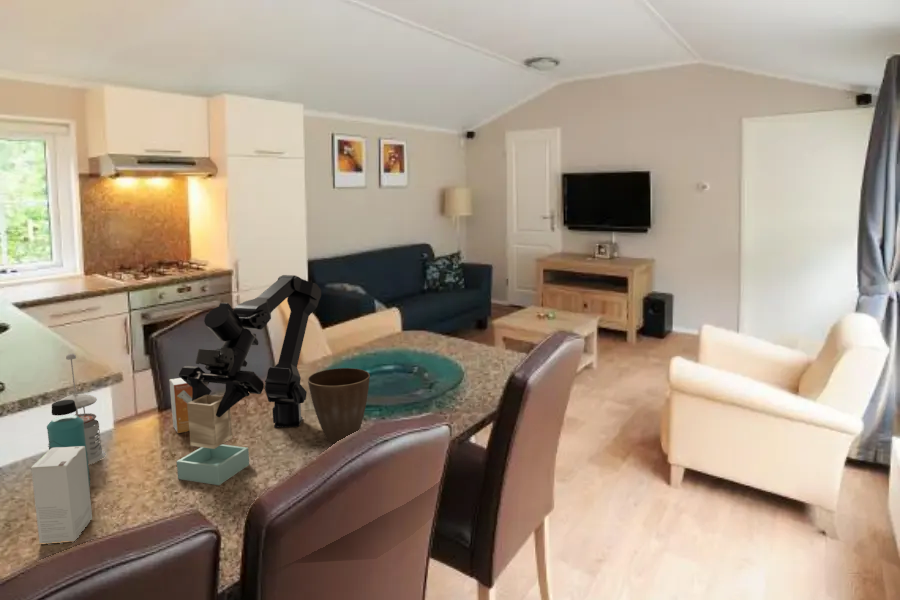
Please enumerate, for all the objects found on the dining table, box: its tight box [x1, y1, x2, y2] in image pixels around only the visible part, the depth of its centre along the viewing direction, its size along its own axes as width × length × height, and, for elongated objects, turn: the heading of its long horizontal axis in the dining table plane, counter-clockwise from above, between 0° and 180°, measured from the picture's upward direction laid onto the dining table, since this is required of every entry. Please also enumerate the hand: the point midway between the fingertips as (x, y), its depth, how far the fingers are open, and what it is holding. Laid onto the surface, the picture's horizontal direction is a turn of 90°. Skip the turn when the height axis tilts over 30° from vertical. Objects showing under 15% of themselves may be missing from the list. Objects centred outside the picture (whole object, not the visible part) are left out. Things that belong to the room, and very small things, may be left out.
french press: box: [59, 353, 107, 465], centre depth 140 cm, size 10×12×25 cm
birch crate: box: [187, 394, 233, 449], centre depth 132 cm, size 6×6×10 cm
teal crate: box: [176, 443, 250, 486], centre depth 133 cm, size 10×10×4 cm
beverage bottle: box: [46, 399, 92, 488], centre depth 121 cm, size 6×7×20 cm
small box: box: [169, 377, 192, 434], centre depth 159 cm, size 8×6×13 cm
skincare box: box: [30, 446, 93, 544], centre depth 108 cm, size 8×6×15 cm
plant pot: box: [307, 367, 371, 444], centre depth 150 cm, size 15×15×16 cm
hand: (205, 414), depth 130 cm, fingers closed on birch crate, 6 cm apart
